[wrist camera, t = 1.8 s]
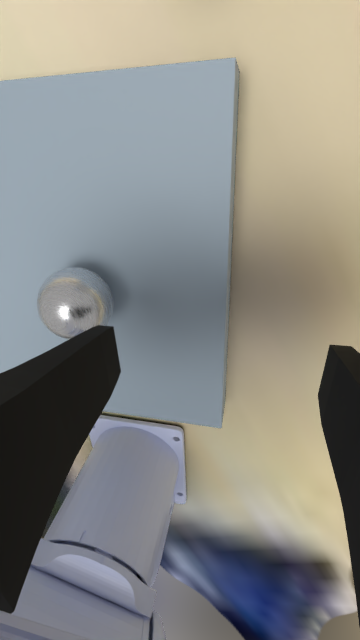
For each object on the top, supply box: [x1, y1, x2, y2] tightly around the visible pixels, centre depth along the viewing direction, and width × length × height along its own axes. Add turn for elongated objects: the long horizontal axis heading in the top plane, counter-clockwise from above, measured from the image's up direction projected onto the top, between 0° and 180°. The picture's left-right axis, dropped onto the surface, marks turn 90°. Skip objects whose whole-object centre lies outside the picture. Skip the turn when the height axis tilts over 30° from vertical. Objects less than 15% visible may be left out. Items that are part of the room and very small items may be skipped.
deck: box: [0, 58, 240, 428], centre depth 19 cm, size 26×18×2 cm
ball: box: [37, 267, 114, 340], centre depth 15 cm, size 4×4×4 cm
